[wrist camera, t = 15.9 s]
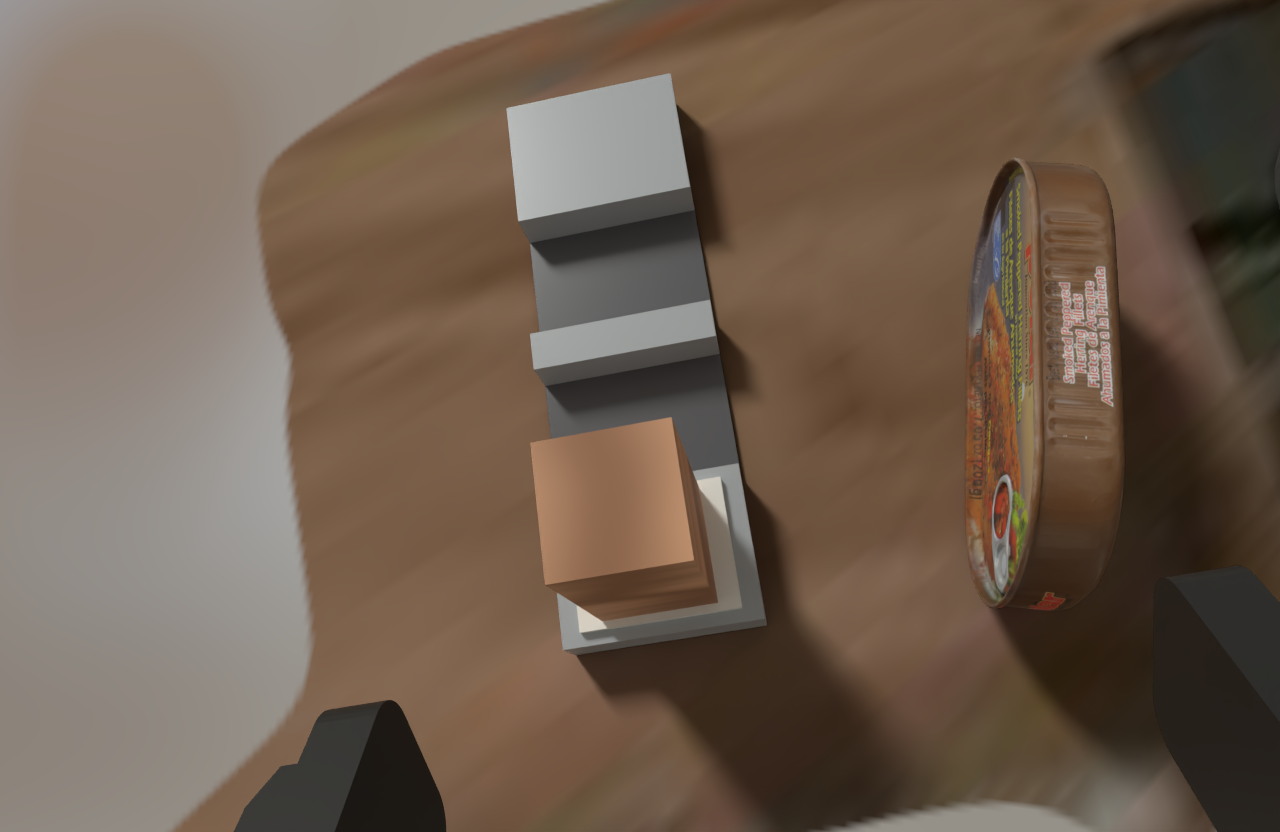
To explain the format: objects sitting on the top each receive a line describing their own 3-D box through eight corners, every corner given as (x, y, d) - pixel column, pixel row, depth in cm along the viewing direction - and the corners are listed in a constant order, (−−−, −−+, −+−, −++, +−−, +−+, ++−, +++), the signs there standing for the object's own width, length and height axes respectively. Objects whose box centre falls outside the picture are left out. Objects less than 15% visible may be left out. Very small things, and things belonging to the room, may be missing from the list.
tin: (967, 235, 38) (1010, 103, 31) (1052, 237, 38) (1118, 102, 30) (961, 622, 34) (1011, 584, 26) (1058, 632, 33) (1138, 595, 25)
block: (699, 489, 34) (671, 417, 27) (718, 603, 33) (694, 560, 26) (588, 508, 35) (530, 442, 27) (602, 621, 33) (545, 585, 26)
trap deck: (675, 103, 42) (669, 68, 40) (767, 625, 35) (765, 617, 33) (519, 136, 43) (504, 103, 41) (575, 655, 35) (560, 649, 33)
